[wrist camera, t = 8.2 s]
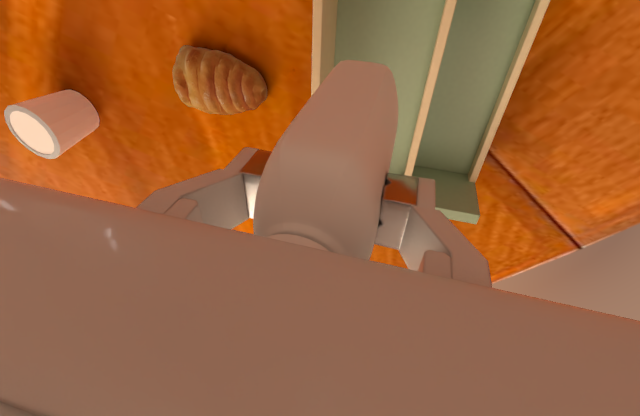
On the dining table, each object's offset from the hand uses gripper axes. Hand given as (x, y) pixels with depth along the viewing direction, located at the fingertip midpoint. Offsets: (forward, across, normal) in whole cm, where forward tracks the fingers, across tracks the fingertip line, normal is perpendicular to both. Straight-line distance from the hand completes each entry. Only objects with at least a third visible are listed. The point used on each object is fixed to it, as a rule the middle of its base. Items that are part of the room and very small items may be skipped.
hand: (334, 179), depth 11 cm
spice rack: (+23, -3, +3) cm, 23 cm away
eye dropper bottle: (+5, 0, 0) cm, 5 cm away
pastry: (+23, +17, +6) cm, 30 cm away
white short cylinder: (+23, +39, +13) cm, 47 cm away
